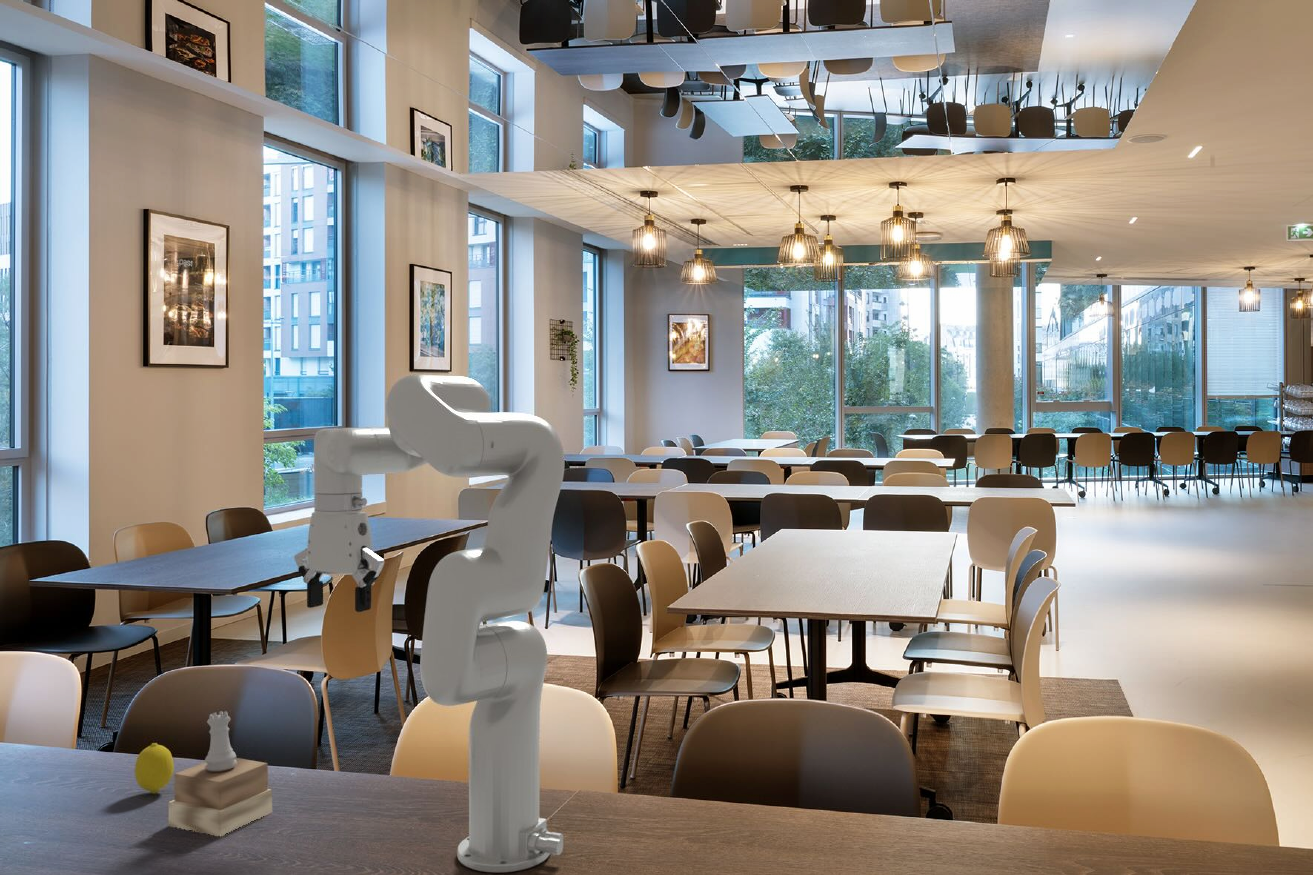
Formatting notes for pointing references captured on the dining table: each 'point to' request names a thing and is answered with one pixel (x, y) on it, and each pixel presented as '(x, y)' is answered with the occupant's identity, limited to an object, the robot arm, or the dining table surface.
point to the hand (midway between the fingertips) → (338, 608)
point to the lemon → (154, 768)
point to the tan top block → (221, 784)
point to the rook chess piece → (220, 744)
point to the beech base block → (219, 815)
